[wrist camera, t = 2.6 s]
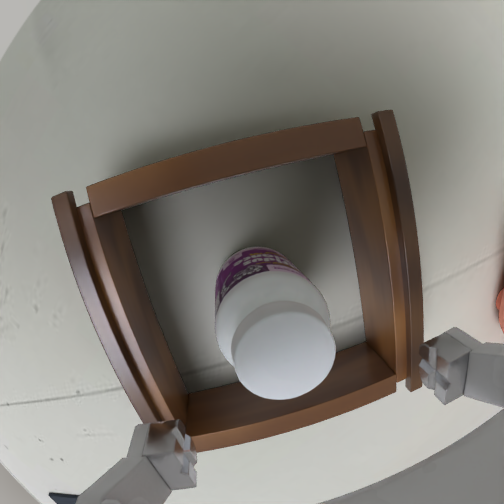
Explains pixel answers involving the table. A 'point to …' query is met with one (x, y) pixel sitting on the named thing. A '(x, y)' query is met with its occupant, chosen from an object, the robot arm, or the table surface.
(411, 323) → the wooden square frame
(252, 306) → the pill bottle
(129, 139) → the table surface
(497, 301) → the teapot
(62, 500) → the coaster
